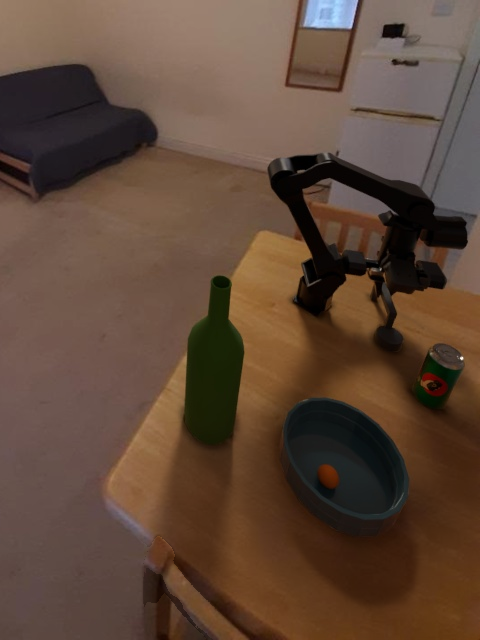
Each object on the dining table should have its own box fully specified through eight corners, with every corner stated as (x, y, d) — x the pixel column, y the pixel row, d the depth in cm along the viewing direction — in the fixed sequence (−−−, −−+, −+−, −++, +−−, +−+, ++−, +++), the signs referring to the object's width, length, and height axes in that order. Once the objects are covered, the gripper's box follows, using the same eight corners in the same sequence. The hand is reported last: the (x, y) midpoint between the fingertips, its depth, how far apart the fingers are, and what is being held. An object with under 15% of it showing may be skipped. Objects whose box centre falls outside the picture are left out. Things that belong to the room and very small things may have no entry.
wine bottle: (236, 403, 75) (254, 267, 61) (232, 453, 68) (251, 311, 54) (188, 389, 78) (195, 256, 64) (179, 436, 71) (185, 296, 56)
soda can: (450, 413, 72) (473, 368, 67) (418, 408, 73) (439, 363, 68) (436, 387, 77) (457, 343, 71) (406, 382, 78) (425, 339, 72)
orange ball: (312, 479, 63) (315, 468, 62) (322, 466, 65) (325, 455, 64) (330, 497, 61) (334, 487, 60) (340, 483, 63) (344, 473, 61)
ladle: (403, 354, 83) (412, 330, 80) (377, 349, 84) (385, 325, 81) (384, 298, 97) (391, 276, 94) (361, 295, 98) (368, 272, 95)
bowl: (257, 459, 67) (261, 440, 64) (314, 398, 76) (320, 378, 73) (364, 572, 54) (374, 552, 52) (418, 482, 63) (429, 462, 61)
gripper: (357, 258, 81) (341, 315, 87) (469, 275, 75) (443, 334, 82) (347, 226, 90) (334, 280, 97) (446, 239, 85) (424, 295, 92)
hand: (381, 297), depth 92 cm, fingers closed on ladle
